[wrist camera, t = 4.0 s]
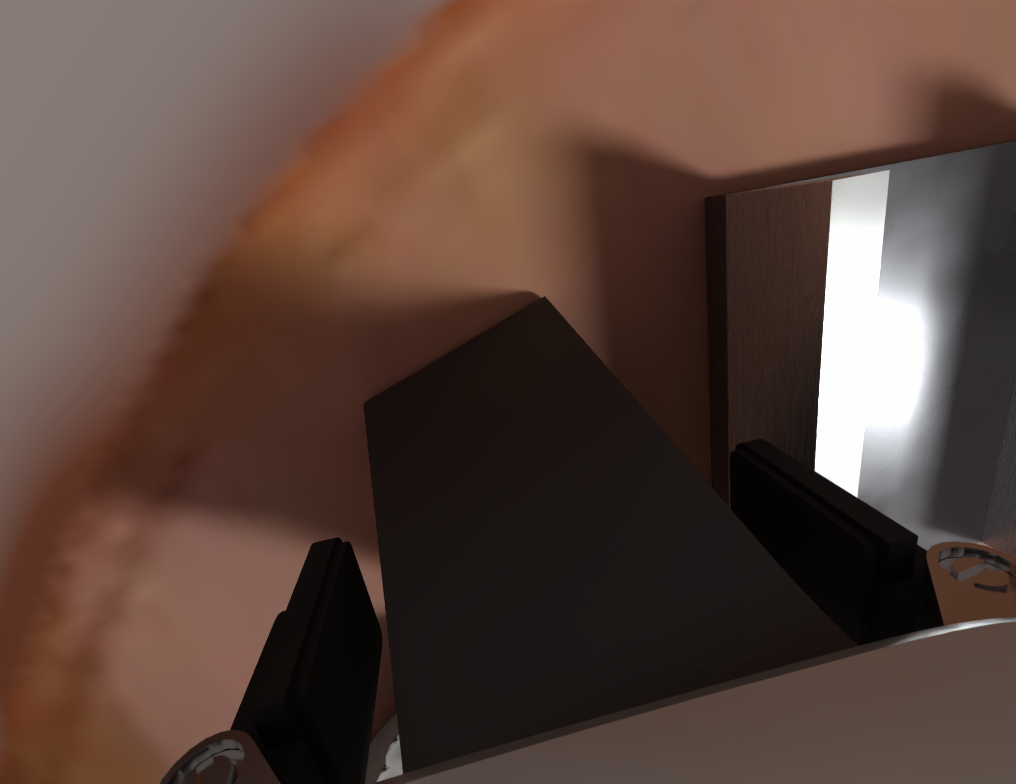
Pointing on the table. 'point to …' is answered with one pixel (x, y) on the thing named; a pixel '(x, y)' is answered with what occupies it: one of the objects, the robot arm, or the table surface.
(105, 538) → the table surface
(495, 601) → the phone stand
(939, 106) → the table surface
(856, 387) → the guide cradle
